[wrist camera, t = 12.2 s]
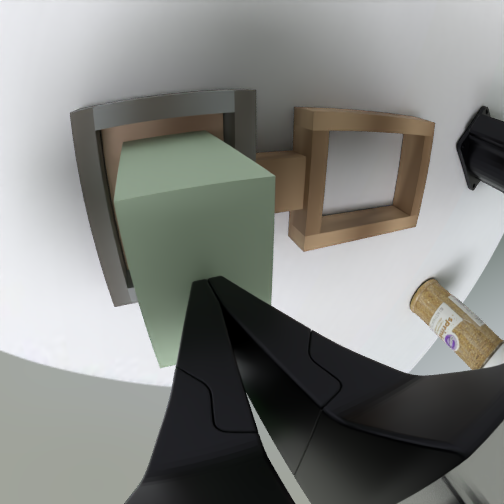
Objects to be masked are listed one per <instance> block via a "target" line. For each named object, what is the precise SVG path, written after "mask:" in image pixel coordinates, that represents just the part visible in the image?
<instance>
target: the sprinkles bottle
mask: <svg viewBox="0 0 504 504" xmlns="http://www.w3.org/2000/svg"><path fill="white" fill-rule="evenodd" d="M410 309H411V311H412V312H413V313H415V314H417V315H418V316H419V317H420V318H421V319H422V320H423V321H424V322H425V323H426V324H427V325H428V326H429V327H430V329H431V330H432V331H433V332H434V333H435V334H436V335H437V336H438V337H439V338H441V339H442V340H443V342H444V343H446V344H447V345H448V346H449V347H450V348H451V349H452V350H453V351H454V352H455V353H456V354H457V355H458V356H459V357H460V358H461V359H462V360H463V361H464V362H465V363H466V364H467V365H468V366H469V367H470V368H471V369H472V370H475V369H481V368H487V367H492V366H497V365H500V364H503V363H504V340H501V339H500V338H499V337H498V336H497V335H496V334H495V333H494V332H493V331H492V330H491V329H490V328H488V326H487V325H486V324H485V323H484V322H483V321H482V320H481V319H480V318H479V317H478V316H477V315H475V314H474V313H473V312H472V311H471V310H470V309H469V308H468V307H466V306H465V305H464V304H463V303H462V302H461V301H460V300H458V299H457V298H456V297H455V296H453V295H451V294H450V293H449V292H448V291H447V290H445V289H444V288H443V287H442V286H441V285H440V284H439V283H438V281H436V280H435V279H431V280H428V281H427V282H425V283H424V284H423V285H421V286H420V288H419V289H418V290H417V292H416V293H415V295H414V296H413V299H412V301H411V305H410Z"/></svg>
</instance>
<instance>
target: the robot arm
mask: <svg viewBox="0 0 504 504" xmlns="http://www.w3.org/2000/svg"><path fill="white" fill-rule="evenodd" d="M457 149H458V152H459V156H460V159H461V162H462V165H463V169H464V172H465V176H466V180H467V183H468V187H469V189H471V190H474V189H475V188H476V186H477V185H478V183H479V182H480V181H482V182H484V183H486V184H488V185H490V186H492V187H493V188H495V189H497V190H499V191H501V192H503V193H504V122H503V121H500V120H498V119H495V118H492V117H490V113H489V109H488V107H486V106H483V107H482V108H481V110H480V111H479V113H478V114H477V116H476V117H475V119H474V120H473V122H472V123H471V125H470V126H469V128H468V129H467V131H466V132H465V133H464V135H463V136H462V138H461V139H460V141H459V142H458V145H457ZM246 393H247V394H246ZM247 395H248V397H249V399H250V400H251V402H252V404H253V406H254V408H255V410H256V412H257V413H258V415H259V417H260V419H261V421H262V422H263V424H264V426H265V428H266V429H267V431H268V433H269V435H270V436H271V438H272V440H273V442H274V443H275V445H276V447H277V449H278V450H279V452H280V454H281V455H282V457H283V459H284V460H285V462H286V464H287V465H288V467H289V469H290V470H291V472H292V474H293V475H295V476H294V477H295V479H296V480H297V482H298V484H299V485H300V487H301V488H302V490H303V491H304V493H305V494H306V496H307V498H308V499H309V501H310V502H311V504H504V363H503V364H500V365H497V366H492V367H487V368H481V369H475V370H470V371H462V372H454V373H447V374H439V375H428V376H418V375H412V374H408V373H404V372H401V371H399V370H396V369H394V368H391V367H389V366H386V365H384V364H381V363H379V362H377V361H374V360H372V359H370V358H367V357H365V356H363V355H360V354H358V353H356V352H354V351H351V350H349V349H347V348H345V347H343V346H341V345H339V344H337V343H335V342H333V341H331V340H329V339H328V338H326V337H324V336H322V335H320V334H319V333H317V332H315V331H313V330H312V331H311V329H310V328H308V327H306V326H305V325H303V324H301V323H300V322H298V321H296V320H294V319H293V318H291V317H289V316H288V315H286V314H284V313H283V312H281V311H279V310H278V309H276V308H274V307H273V306H271V305H269V304H268V303H266V302H264V301H263V300H261V299H259V298H258V297H256V296H254V295H253V294H251V293H249V292H248V291H246V290H244V289H243V288H241V287H239V286H238V285H236V284H235V283H233V282H231V281H230V280H228V279H227V278H225V277H223V276H216V277H211V278H208V280H206V279H202V280H197V281H193V282H192V285H191V289H190V294H189V299H188V304H187V309H186V314H185V319H184V324H183V329H182V335H181V340H180V345H179V351H178V356H177V362H176V369H175V373H174V378H173V384H172V388H171V393H170V398H169V402H168V405H167V408H166V412H165V416H164V419H163V422H162V425H161V428H160V431H159V434H158V437H157V440H156V443H155V446H154V450H153V453H152V456H151V459H150V462H149V465H148V467H147V470H146V472H145V475H144V477H143V479H142V481H141V482H140V484H139V485H138V487H137V488H136V489H135V491H134V492H133V493H132V494H131V496H130V497H129V498H128V499H127V501H126V502H125V503H124V504H295V502H294V501H293V499H292V498H291V496H290V494H289V493H288V491H287V489H286V488H285V486H284V484H283V483H282V481H281V479H280V478H279V476H278V474H277V472H276V471H275V469H274V467H273V465H272V464H271V462H270V460H269V458H268V457H267V454H266V452H265V450H264V447H263V445H262V442H261V439H260V436H259V434H258V430H257V426H256V423H255V420H254V417H253V414H252V411H251V407H250V404H249V401H248V398H247Z"/></svg>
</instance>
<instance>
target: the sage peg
mask: <svg viewBox="0 0 504 504" xmlns="http://www.w3.org/2000/svg"><path fill="white" fill-rule="evenodd" d="M114 206H115V211H116V215H117V220H118V225H119V229H120V234H121V238H122V242H123V247H124V251H125V255H126V259H127V263H128V267H129V270H130V274H131V278H132V282H133V285H134V289H135V292H136V296H137V299H138V303H139V306H140V309H141V312H142V316H143V319H144V322H145V325H146V328H147V331H148V334H149V337H150V340H151V343H152V346H153V349H154V352H155V355H156V358H157V360H158V363H159V366H160V368H163V367H168V366H172V365H176V362H177V356H178V351H179V345H180V340H181V335H182V329H183V324H184V319H185V314H186V309H187V304H188V299H189V294H190V289H191V285H192V282H193V281H197V280H202V279H206V280H208V278H211V277H216V276H223V277H225V278H227V279H228V280H230V281H231V282H233V283H235V284H236V285H238V286H239V287H241V288H243V289H244V290H246V291H248V292H249V293H251V294H253V295H254V296H256V297H258V298H259V299H261V300H263V301H264V302H266V303H268V304H269V305H271V295H272V271H273V243H274V212H275V175H273V174H272V173H270V172H269V171H267V170H266V169H264V168H263V167H262V166H260V165H259V164H257V163H256V162H254V161H253V160H251V159H250V158H248V157H246V156H245V155H243V154H242V153H240V152H239V151H237V150H236V149H234V148H233V147H231V146H230V145H228V144H226V143H225V142H223V141H222V140H220V139H218V138H217V137H215V136H214V135H212V134H210V133H209V132H207V131H206V130H202V131H193V132H185V133H177V134H170V135H163V136H156V137H150V138H144V139H138V140H132V141H127V142H123V144H122V150H121V155H120V161H119V167H118V174H117V181H116V188H115V195H114Z"/></svg>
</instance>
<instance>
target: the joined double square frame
mask: <svg viewBox="0 0 504 504" xmlns="http://www.w3.org/2000/svg"><path fill="white" fill-rule="evenodd" d="M70 118H71V126H72V134H73V141H74V148H75V154H76V160H77V166H78V172H79V177H80V182H81V187H82V192H83V197H84V202H85V206H86V211H87V215H88V219H89V223H90V227H91V231H92V235H93V239H94V243H95V246H96V250H97V253H98V257H99V260H100V264H101V267H102V270H103V274H104V277H105V280H106V283H107V286H108V289H109V292H110V295H111V298H112V301H113V304H114V307H117V306H122V305H127V304H132V303H137V302H138V299H137V296H136V292H135V289H134V285H133V282H132V278H131V274H130V270H129V267H128V263H127V259H126V255H125V251H124V247H123V242H122V238H121V234H120V229H119V225H118V220H117V215H116V211H115V206H114V195H115V188H116V181H117V174H118V167H119V161H120V155H121V150H122V144H123V142H127V141H132V140H138V139H144V138H150V137H156V136H163V135H170V134H177V133H185V132H193V131H202V130H206V131H207V132H209V133H210V134H212V135H214V136H215V137H217V138H218V139H220V140H222V141H223V142H225V143H226V144H228V145H230V146H231V147H233V148H234V149H236V150H237V151H239V152H240V153H242V154H243V155H245V156H246V157H248V158H250V159H251V160H253V161H254V162H256V163H257V164H259V165H260V166H262V167H263V168H264V169H266V170H267V171H269V172H270V173H272V174H273V175H275V212H274V213H279V212H286V211H290V215H289V231H288V236H289V237H290V238H291V239H292V240H293V241H294V242H295V243H296V244H297V245H298V247H299V248H300V249H301V250H302V251H303V252H304V251H309V250H314V249H318V248H323V247H327V246H332V245H336V244H341V243H345V242H350V241H354V240H359V239H363V238H368V237H372V236H377V235H381V234H386V233H390V232H394V231H399V230H403V229H408V228H412V227H416V224H417V220H418V215H419V211H420V207H421V202H422V198H423V193H424V188H425V183H426V178H427V173H428V167H429V161H430V155H431V149H432V142H433V135H434V128H435V123H434V122H431V121H428V120H424V119H421V118H417V117H413V116H406V115H399V114H391V113H383V112H374V111H363V110H351V109H337V108H316V107H294V131H293V150H289V151H274V152H261V153H256V90H249V89H226V90H207V91H193V92H182V93H172V94H163V95H155V96H148V97H141V98H134V99H128V100H122V101H116V102H111V103H106V104H101V105H96V106H91V107H87V108H82V109H78V110H76V111H73V112H71V113H70ZM329 131H367V132H386V133H401V134H404V135H403V143H402V150H401V158H400V164H399V171H398V177H397V183H396V189H395V194H394V200H393V205H391V206H384V207H378V208H371V209H365V210H358V211H352V212H345V213H339V214H333V215H327V216H322V211H323V201H324V191H325V181H326V170H327V157H328V144H329ZM101 135H102V137H101ZM102 143H103V145H102ZM103 150H104V153H103ZM104 158H105V160H104ZM105 164H106V166H105ZM106 171H107V173H106ZM107 177H108V179H107ZM108 183H109V185H108ZM109 189H110V190H109ZM110 194H111V196H110ZM111 200H112V201H111ZM112 205H113V206H112ZM113 210H114V211H113ZM114 215H115V216H114ZM115 220H116V221H115ZM116 224H117V226H116ZM117 229H118V230H117ZM118 234H119V235H118ZM119 238H120V239H119ZM120 242H121V243H120ZM121 247H122V248H121ZM122 251H123V252H122ZM123 255H124V256H123ZM124 259H125V260H124ZM125 263H126V264H125ZM126 267H127V268H126Z"/></svg>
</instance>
